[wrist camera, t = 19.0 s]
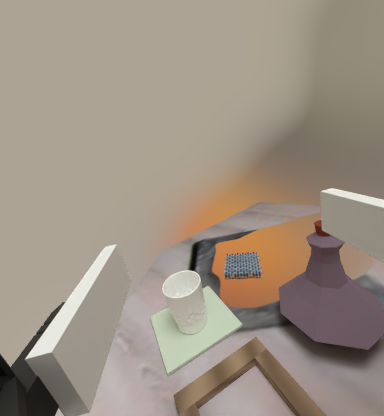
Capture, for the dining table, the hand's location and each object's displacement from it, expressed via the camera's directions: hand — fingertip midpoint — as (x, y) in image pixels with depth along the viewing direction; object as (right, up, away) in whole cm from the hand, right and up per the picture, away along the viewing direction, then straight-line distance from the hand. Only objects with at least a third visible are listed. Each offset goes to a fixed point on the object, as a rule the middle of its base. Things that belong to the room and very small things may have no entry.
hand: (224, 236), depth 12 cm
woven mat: (+13, -16, +44) cm, 48 cm away
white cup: (-2, -23, +29) cm, 37 cm away
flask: (+23, -19, +23) cm, 38 cm away
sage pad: (-2, -23, +30) cm, 38 cm away
